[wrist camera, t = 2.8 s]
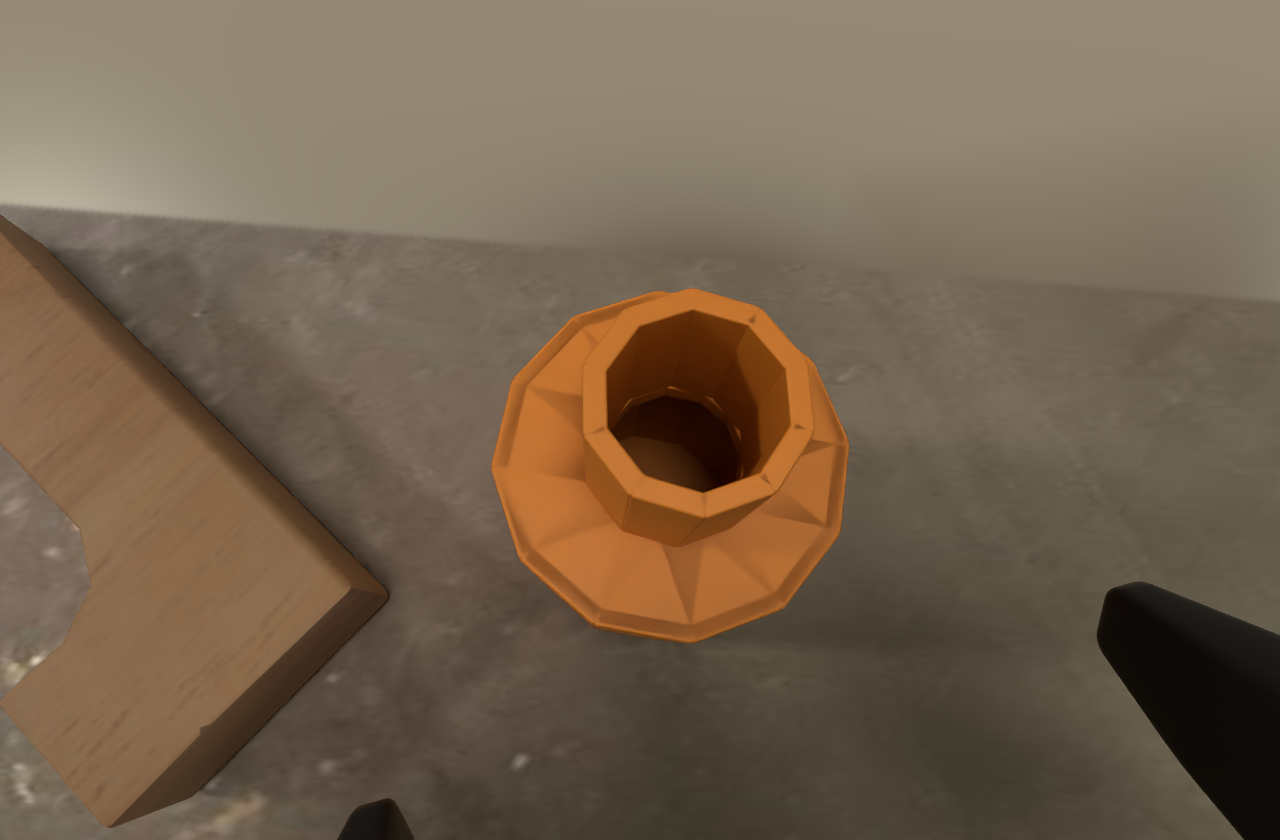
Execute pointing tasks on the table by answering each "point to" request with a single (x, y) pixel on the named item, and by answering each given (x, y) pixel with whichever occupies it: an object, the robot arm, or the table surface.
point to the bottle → (671, 466)
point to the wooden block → (155, 556)
